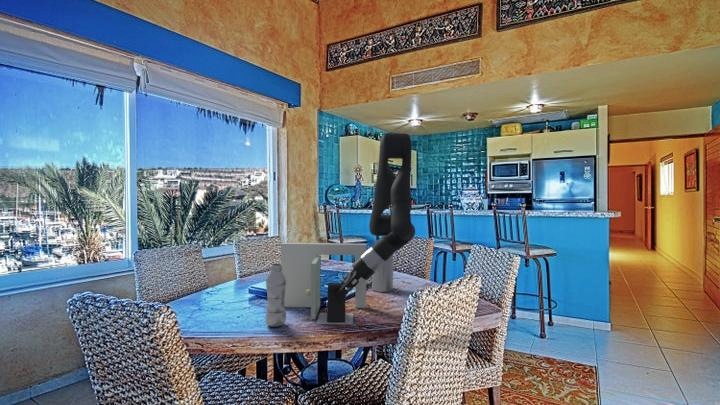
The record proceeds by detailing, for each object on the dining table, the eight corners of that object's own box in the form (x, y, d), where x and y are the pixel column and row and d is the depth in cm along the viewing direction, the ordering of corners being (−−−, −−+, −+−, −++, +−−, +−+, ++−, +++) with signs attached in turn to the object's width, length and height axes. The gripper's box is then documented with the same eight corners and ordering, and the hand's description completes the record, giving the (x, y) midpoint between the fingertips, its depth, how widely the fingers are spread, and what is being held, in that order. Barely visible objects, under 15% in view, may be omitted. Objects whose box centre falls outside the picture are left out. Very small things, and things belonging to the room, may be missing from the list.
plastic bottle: (267, 322, 127) (267, 262, 126) (287, 321, 128) (287, 262, 127) (263, 329, 121) (263, 267, 120) (285, 329, 121) (285, 266, 121)
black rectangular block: (344, 322, 127) (345, 287, 126) (326, 322, 127) (327, 287, 126) (345, 313, 136) (345, 280, 135) (328, 313, 136) (328, 280, 135)
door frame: (282, 305, 145) (282, 242, 144) (365, 306, 145) (366, 243, 144) (269, 323, 126) (269, 251, 125) (366, 324, 126) (366, 252, 125)
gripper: (361, 251, 137) (329, 282, 138) (361, 259, 123) (325, 293, 124) (375, 266, 137) (343, 297, 138) (377, 275, 123) (341, 310, 124)
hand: (335, 295), depth 131 cm, fingers open, 8 cm apart
